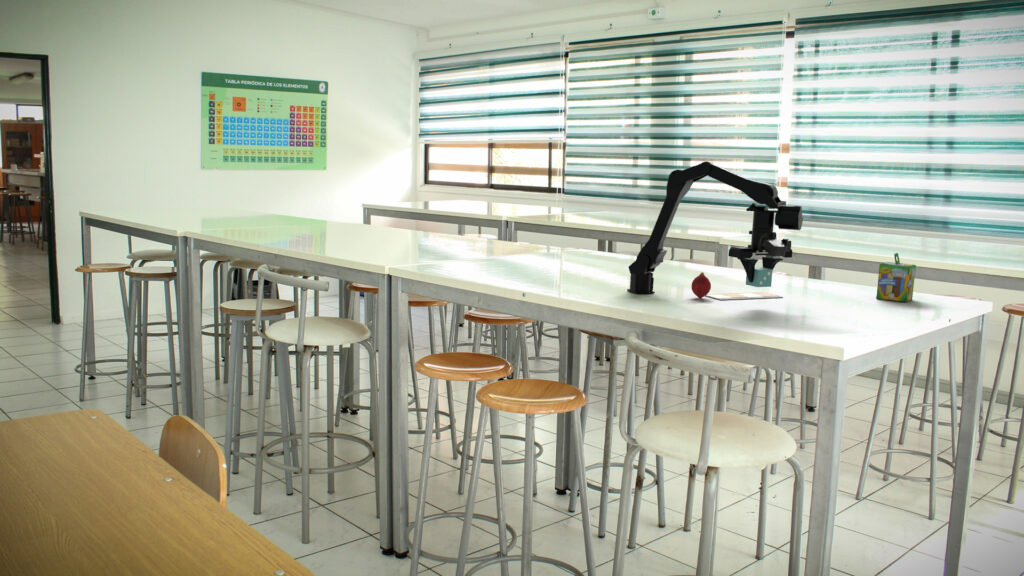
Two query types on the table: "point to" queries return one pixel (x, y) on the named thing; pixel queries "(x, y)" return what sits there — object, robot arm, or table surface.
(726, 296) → the board
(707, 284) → the onion
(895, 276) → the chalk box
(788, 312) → the table surface
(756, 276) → the die
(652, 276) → the robot arm
